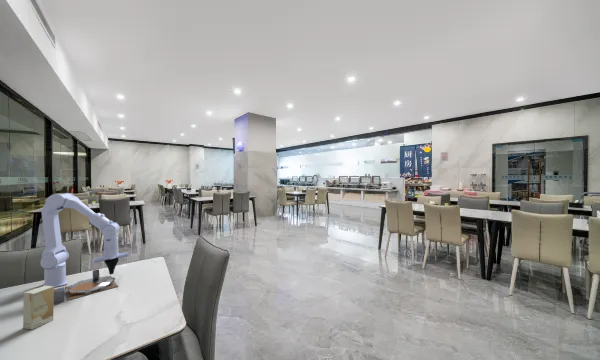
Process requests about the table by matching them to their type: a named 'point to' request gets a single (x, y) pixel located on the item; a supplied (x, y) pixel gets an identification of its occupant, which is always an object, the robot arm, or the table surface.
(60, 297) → the gray cube
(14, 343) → the table surface
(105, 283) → the sprocket
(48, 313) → the skincare box
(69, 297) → the walnut board
